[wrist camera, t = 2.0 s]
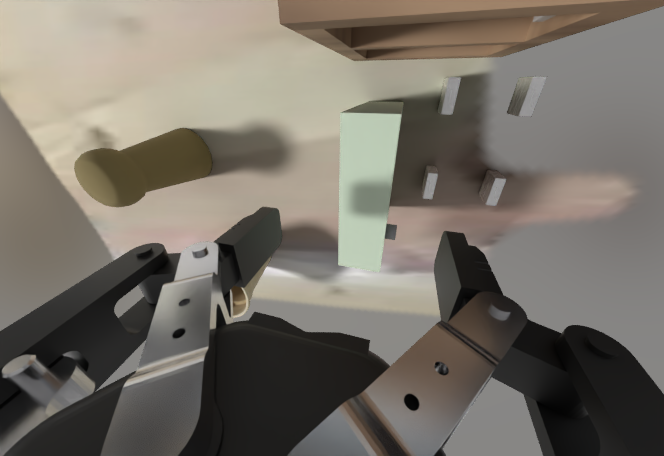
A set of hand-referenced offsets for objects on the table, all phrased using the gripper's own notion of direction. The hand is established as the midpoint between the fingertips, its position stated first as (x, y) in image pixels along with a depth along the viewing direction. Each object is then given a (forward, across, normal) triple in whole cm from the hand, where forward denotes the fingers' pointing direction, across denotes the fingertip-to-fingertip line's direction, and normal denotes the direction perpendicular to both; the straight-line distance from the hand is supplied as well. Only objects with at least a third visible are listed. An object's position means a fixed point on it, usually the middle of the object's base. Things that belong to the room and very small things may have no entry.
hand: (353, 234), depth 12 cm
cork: (+14, +23, +1) cm, 27 cm away
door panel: (+14, 0, 0) cm, 14 cm away
